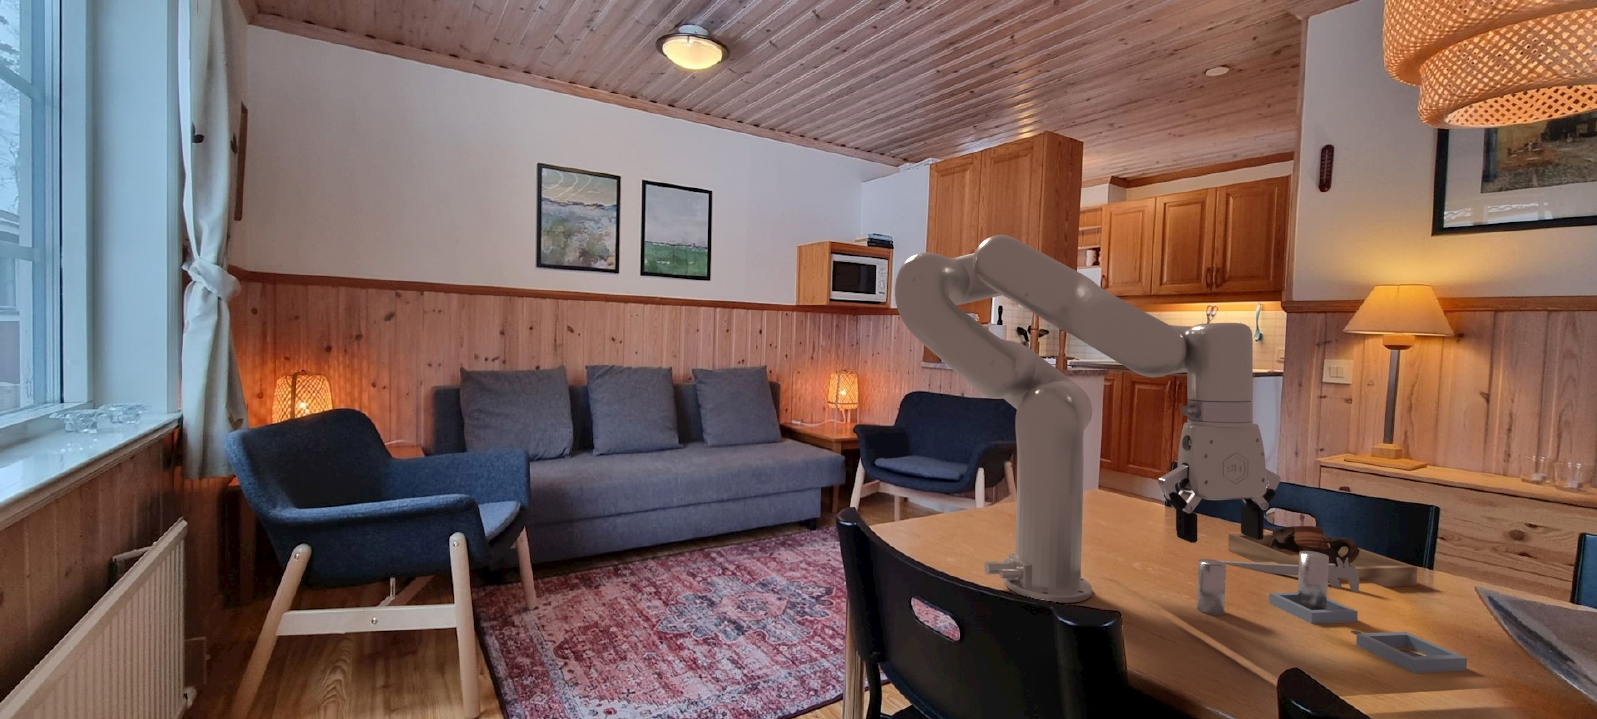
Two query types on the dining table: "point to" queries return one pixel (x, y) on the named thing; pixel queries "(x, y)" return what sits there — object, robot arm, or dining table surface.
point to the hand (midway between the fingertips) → (1219, 538)
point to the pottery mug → (1313, 542)
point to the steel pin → (1211, 587)
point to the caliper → (1287, 569)
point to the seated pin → (1313, 580)
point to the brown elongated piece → (1367, 562)
